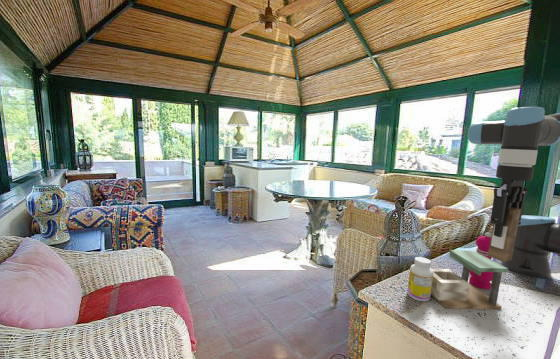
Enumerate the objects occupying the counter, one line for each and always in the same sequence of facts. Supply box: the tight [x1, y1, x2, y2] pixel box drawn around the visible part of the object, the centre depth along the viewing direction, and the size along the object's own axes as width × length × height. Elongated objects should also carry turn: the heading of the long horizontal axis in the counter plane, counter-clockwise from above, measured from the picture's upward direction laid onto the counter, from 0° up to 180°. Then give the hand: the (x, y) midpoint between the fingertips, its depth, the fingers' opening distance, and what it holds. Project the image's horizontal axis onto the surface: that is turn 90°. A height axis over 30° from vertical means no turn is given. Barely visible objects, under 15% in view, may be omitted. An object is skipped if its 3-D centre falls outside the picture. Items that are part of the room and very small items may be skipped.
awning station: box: [430, 249, 509, 310], centre depth 84 cm, size 19×14×13 cm
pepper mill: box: [468, 232, 493, 290], centre depth 91 cm, size 7×7×20 cm
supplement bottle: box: [407, 256, 433, 302], centre depth 83 cm, size 7×7×13 cm
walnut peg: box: [488, 207, 521, 262], centre depth 72 cm, size 4×4×15 cm
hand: (501, 245), depth 73 cm, fingers closed on walnut peg, 4 cm apart
